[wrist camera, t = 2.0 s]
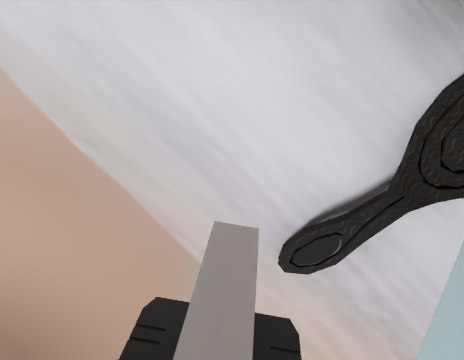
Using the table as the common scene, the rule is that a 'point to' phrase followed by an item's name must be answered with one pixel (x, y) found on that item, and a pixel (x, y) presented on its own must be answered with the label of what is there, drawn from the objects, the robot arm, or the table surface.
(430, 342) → the plate
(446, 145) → the hairbrush
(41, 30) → the table surface
